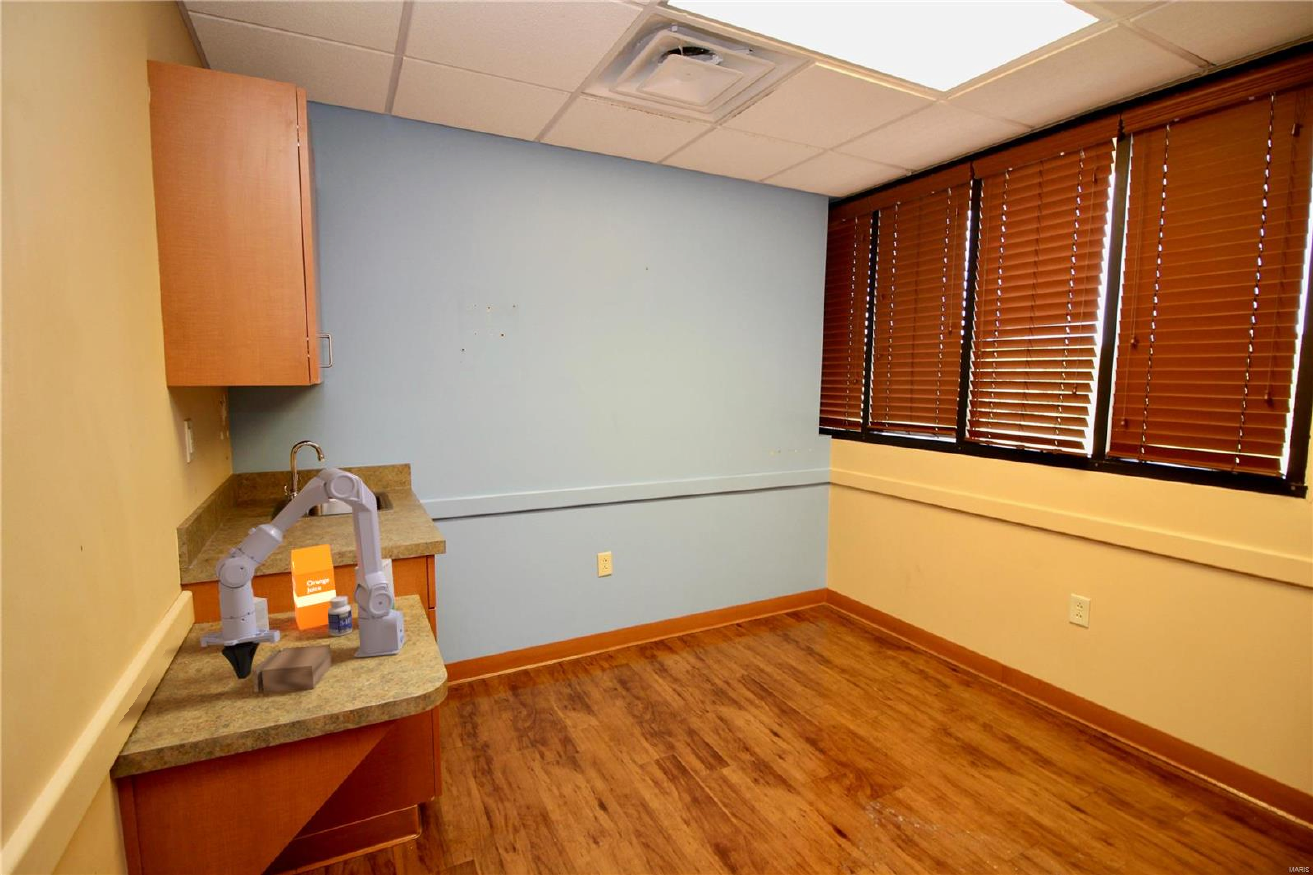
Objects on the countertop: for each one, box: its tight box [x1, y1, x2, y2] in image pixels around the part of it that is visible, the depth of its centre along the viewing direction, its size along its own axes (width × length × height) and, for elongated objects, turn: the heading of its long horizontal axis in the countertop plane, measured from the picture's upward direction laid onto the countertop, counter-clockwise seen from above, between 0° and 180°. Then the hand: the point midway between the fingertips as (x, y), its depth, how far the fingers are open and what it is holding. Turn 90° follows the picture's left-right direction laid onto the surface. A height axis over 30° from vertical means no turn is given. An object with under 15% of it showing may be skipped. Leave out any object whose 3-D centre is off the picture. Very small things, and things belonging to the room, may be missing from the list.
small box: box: [253, 596, 270, 630], centre depth 151 cm, size 8×6×10 cm
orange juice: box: [290, 544, 337, 631], centre depth 162 cm, size 8×9×20 cm
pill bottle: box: [327, 595, 353, 637], centre depth 155 cm, size 5×5×9 cm
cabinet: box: [262, 644, 332, 694], centre depth 132 cm, size 10×10×5 cm
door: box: [251, 649, 282, 693], centre depth 131 cm, size 1×10×5 cm, turn 5°
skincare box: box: [354, 558, 396, 612], centre depth 162 cm, size 8×7×16 cm
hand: (244, 676), depth 128 cm, fingers closed
